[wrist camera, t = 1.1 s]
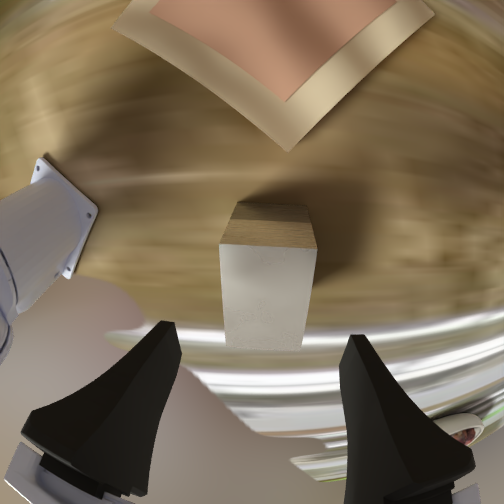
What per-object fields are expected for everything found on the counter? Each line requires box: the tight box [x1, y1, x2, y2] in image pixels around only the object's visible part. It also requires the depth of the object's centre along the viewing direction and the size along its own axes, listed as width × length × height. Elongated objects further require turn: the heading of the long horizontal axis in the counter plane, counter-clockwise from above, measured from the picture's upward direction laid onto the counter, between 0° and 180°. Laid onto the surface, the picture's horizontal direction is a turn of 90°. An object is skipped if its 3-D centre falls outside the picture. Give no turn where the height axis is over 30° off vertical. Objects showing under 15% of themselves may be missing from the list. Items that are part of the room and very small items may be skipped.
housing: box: [219, 202, 317, 351], centre depth 17 cm, size 4×7×6 cm, turn 179°
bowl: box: [433, 413, 484, 446], centre depth 35 cm, size 30×30×8 cm
